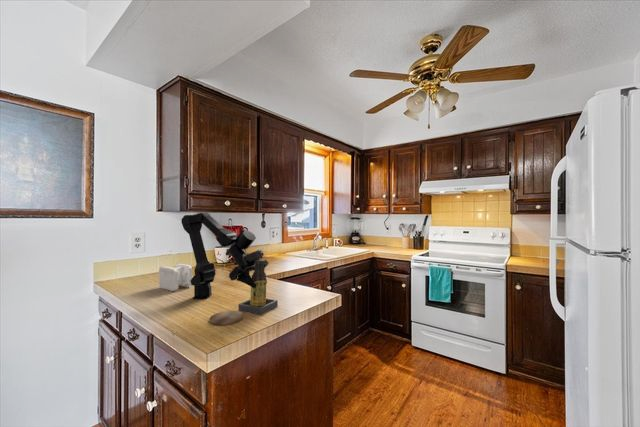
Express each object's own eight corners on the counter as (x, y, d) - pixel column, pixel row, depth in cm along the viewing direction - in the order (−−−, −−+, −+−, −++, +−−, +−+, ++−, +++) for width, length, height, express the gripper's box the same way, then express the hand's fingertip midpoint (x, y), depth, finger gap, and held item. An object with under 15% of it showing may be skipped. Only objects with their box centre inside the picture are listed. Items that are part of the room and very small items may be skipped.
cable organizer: (193, 287, 143) (193, 265, 143) (173, 293, 134) (173, 269, 134) (177, 283, 151) (177, 262, 151) (157, 288, 142) (157, 266, 142)
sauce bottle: (252, 312, 109) (252, 261, 109) (248, 307, 114) (248, 259, 114) (268, 309, 112) (268, 260, 112) (264, 304, 117) (264, 258, 117)
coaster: (204, 325, 96) (204, 323, 96) (216, 312, 108) (216, 310, 108) (238, 325, 96) (238, 323, 96) (247, 312, 108) (247, 310, 108)
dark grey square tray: (238, 310, 111) (238, 304, 111) (256, 302, 120) (256, 296, 120) (260, 315, 106) (260, 308, 106) (277, 306, 115) (277, 300, 115)
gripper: (234, 246, 106) (256, 278, 101) (265, 241, 123) (285, 268, 118) (219, 264, 110) (240, 296, 105) (251, 257, 127) (270, 284, 122)
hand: (261, 285), depth 112 cm, fingers open, 7 cm apart
